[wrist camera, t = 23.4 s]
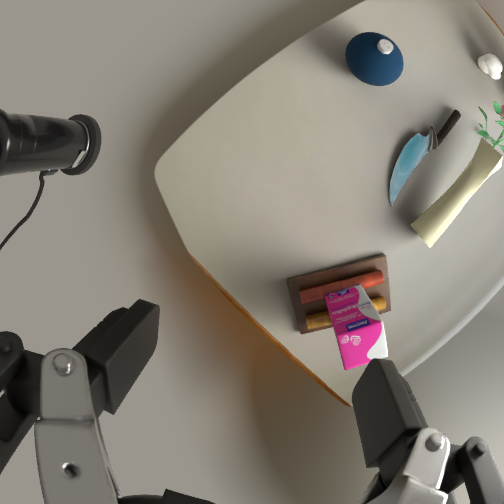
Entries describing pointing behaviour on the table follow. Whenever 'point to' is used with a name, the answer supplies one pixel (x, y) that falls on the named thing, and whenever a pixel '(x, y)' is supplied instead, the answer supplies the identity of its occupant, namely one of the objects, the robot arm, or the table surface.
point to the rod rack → (336, 279)
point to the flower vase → (461, 187)
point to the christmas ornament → (374, 58)
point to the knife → (417, 154)
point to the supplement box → (356, 326)
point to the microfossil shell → (490, 65)
